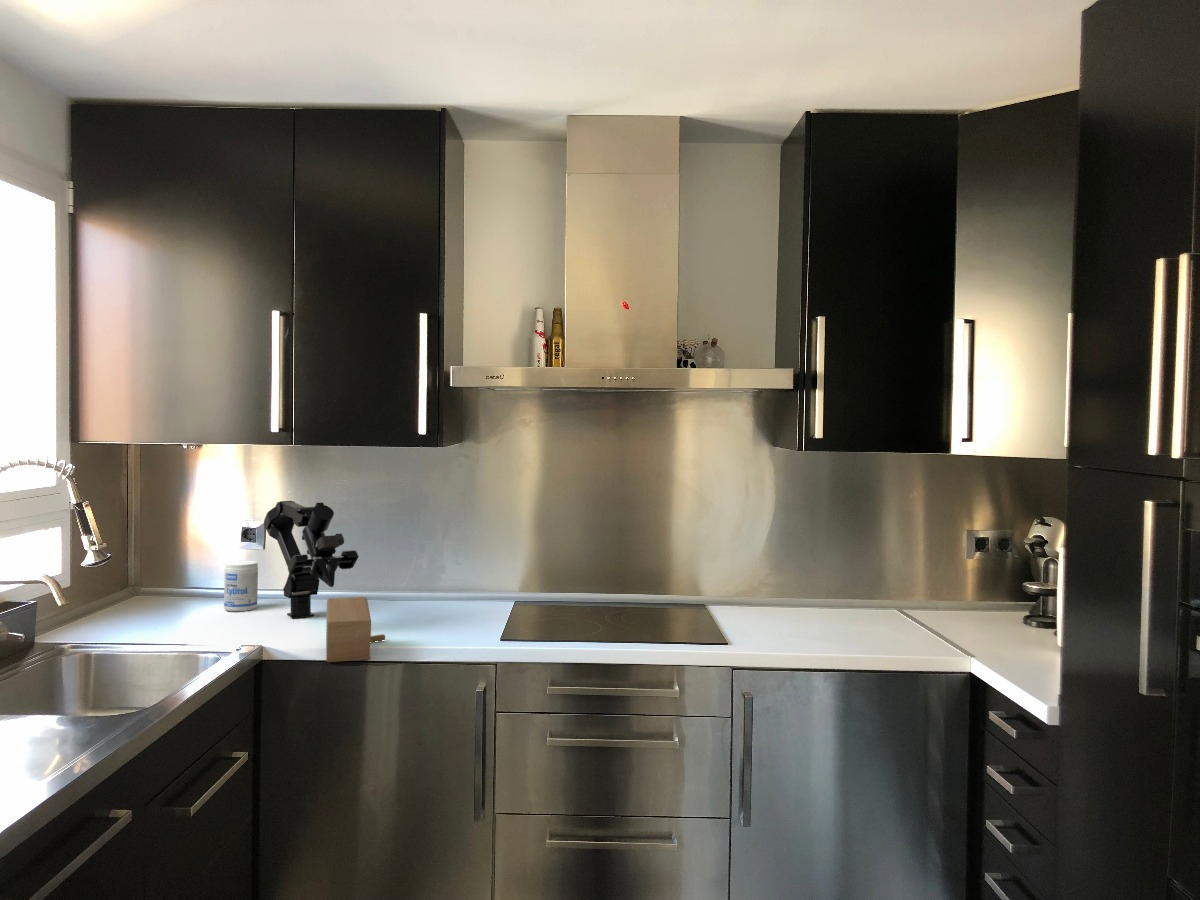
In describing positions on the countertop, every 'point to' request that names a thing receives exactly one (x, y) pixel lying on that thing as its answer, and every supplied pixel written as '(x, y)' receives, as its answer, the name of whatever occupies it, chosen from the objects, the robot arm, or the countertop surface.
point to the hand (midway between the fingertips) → (332, 586)
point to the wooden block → (348, 629)
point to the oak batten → (377, 638)
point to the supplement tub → (241, 585)
